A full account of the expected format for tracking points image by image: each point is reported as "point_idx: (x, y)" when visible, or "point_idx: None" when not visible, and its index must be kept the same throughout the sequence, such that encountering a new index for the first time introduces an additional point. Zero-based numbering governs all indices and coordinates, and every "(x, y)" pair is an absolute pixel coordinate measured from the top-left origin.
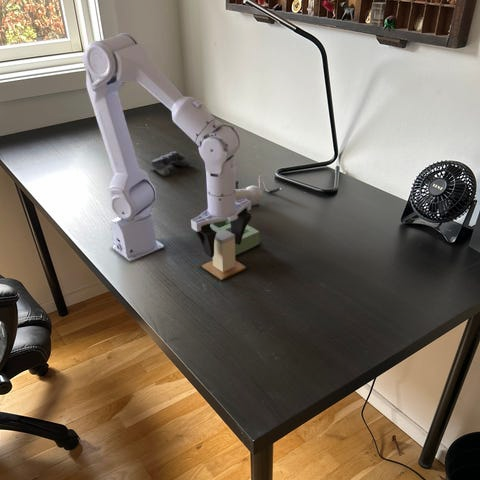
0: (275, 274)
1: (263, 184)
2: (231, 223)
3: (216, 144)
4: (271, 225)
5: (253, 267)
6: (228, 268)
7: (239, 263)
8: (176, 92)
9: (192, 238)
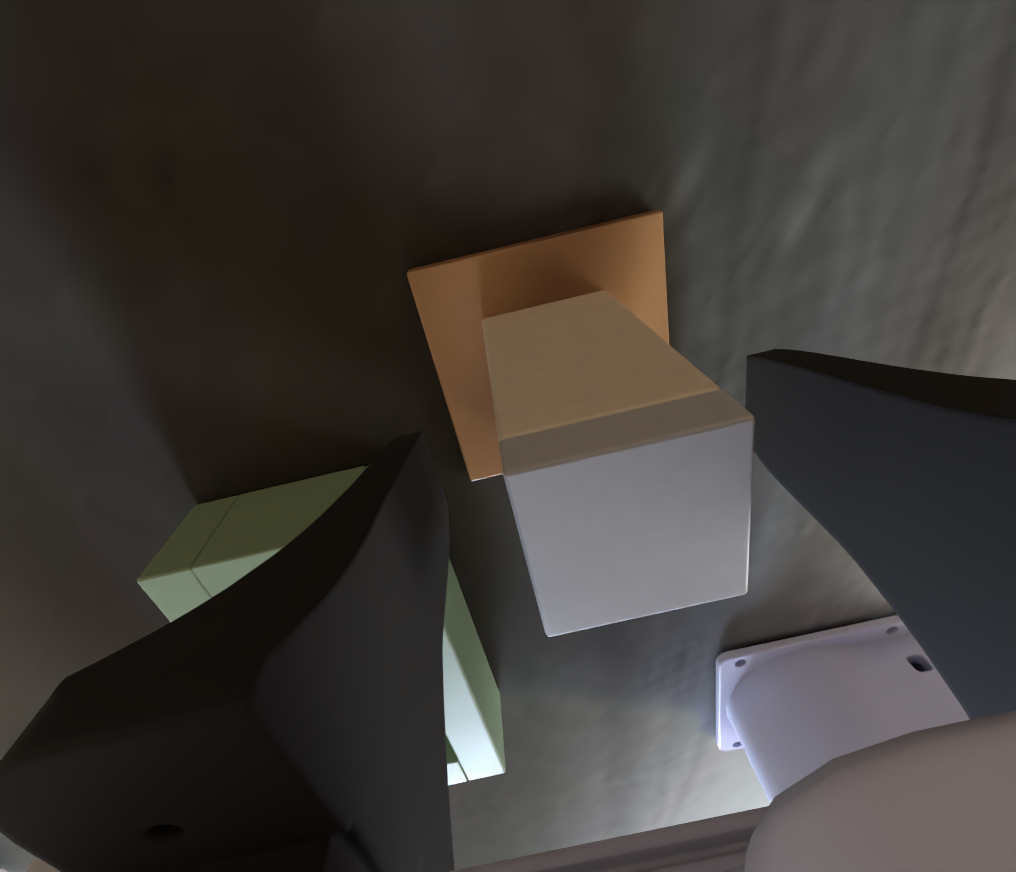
0: (174, 24)
1: None
2: (437, 687)
3: None
4: (46, 645)
5: (342, 254)
6: (553, 303)
7: (434, 338)
8: None
9: (552, 671)
